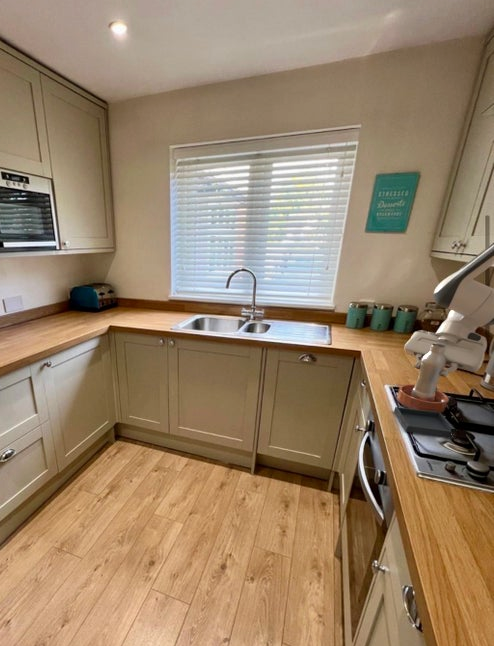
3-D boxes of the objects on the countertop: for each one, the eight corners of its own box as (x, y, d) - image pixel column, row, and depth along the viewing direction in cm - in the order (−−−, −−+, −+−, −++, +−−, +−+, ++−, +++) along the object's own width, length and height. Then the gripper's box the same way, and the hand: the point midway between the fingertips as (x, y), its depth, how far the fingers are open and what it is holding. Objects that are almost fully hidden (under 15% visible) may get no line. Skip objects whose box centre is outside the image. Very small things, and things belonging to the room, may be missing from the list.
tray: (438, 417, 100) (440, 412, 99) (455, 438, 90) (458, 432, 89) (393, 412, 103) (395, 406, 102) (405, 431, 93) (407, 425, 92)
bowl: (434, 397, 113) (438, 386, 111) (452, 416, 101) (456, 405, 99) (391, 392, 116) (394, 382, 114) (404, 411, 104) (407, 399, 102)
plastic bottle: (411, 406, 106) (429, 347, 98) (406, 397, 112) (423, 341, 104) (435, 409, 104) (455, 350, 96) (428, 400, 110) (447, 343, 102)
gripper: (415, 323, 111) (393, 356, 109) (493, 339, 95) (468, 378, 94) (417, 334, 115) (396, 366, 113) (492, 351, 99) (468, 388, 98)
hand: (429, 371), depth 103 cm, fingers closed on plastic bottle, 6 cm apart
